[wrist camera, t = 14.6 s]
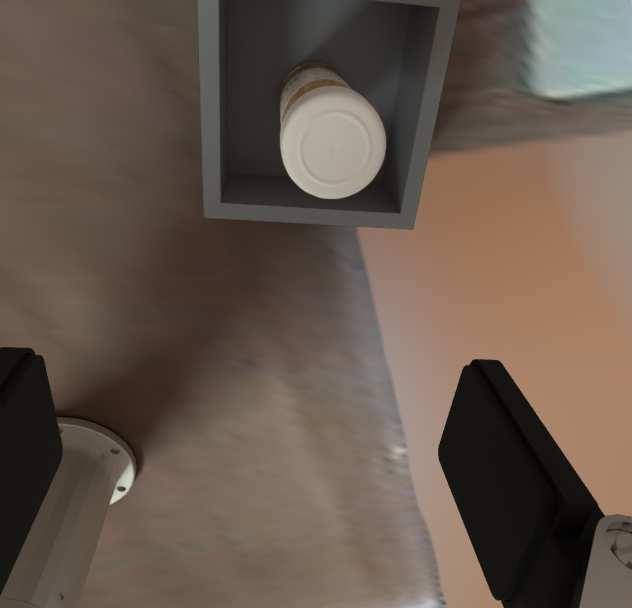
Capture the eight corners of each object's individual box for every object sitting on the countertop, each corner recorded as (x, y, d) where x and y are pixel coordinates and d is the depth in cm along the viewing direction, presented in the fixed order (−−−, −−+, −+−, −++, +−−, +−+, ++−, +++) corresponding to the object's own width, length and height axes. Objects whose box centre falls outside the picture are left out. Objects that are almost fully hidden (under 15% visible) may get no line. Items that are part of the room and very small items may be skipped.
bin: (390, 192, 37) (413, 229, 31) (214, 181, 36) (203, 217, 30) (426, -12, 30) (464, -14, 24) (211, -36, 29) (196, -46, 23)
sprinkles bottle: (311, 148, 34) (330, 222, 22) (263, 96, 32) (257, 148, 20) (361, 99, 32) (409, 151, 21) (315, 42, 30) (339, 65, 19)
